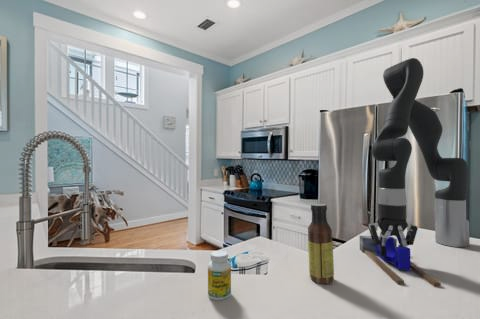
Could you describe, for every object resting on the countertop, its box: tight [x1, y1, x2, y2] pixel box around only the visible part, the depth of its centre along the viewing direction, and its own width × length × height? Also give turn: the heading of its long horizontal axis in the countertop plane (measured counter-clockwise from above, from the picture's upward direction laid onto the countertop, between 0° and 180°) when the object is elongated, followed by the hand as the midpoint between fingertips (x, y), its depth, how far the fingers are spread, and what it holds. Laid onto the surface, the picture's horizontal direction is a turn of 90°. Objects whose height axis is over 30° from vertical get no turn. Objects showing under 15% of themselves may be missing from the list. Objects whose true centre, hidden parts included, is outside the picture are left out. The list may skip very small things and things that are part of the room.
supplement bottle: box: [207, 250, 232, 301], centre depth 58 cm, size 5×5×10 cm
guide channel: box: [359, 235, 442, 288], centre depth 76 cm, size 11×26×5 cm, turn 173°
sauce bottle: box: [307, 202, 335, 285], centre depth 66 cm, size 6×6×20 cm
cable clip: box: [376, 236, 411, 271], centre depth 77 cm, size 12×4×6 cm, turn 171°
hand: (392, 257), depth 77 cm, fingers closed on cable clip, 4 cm apart
